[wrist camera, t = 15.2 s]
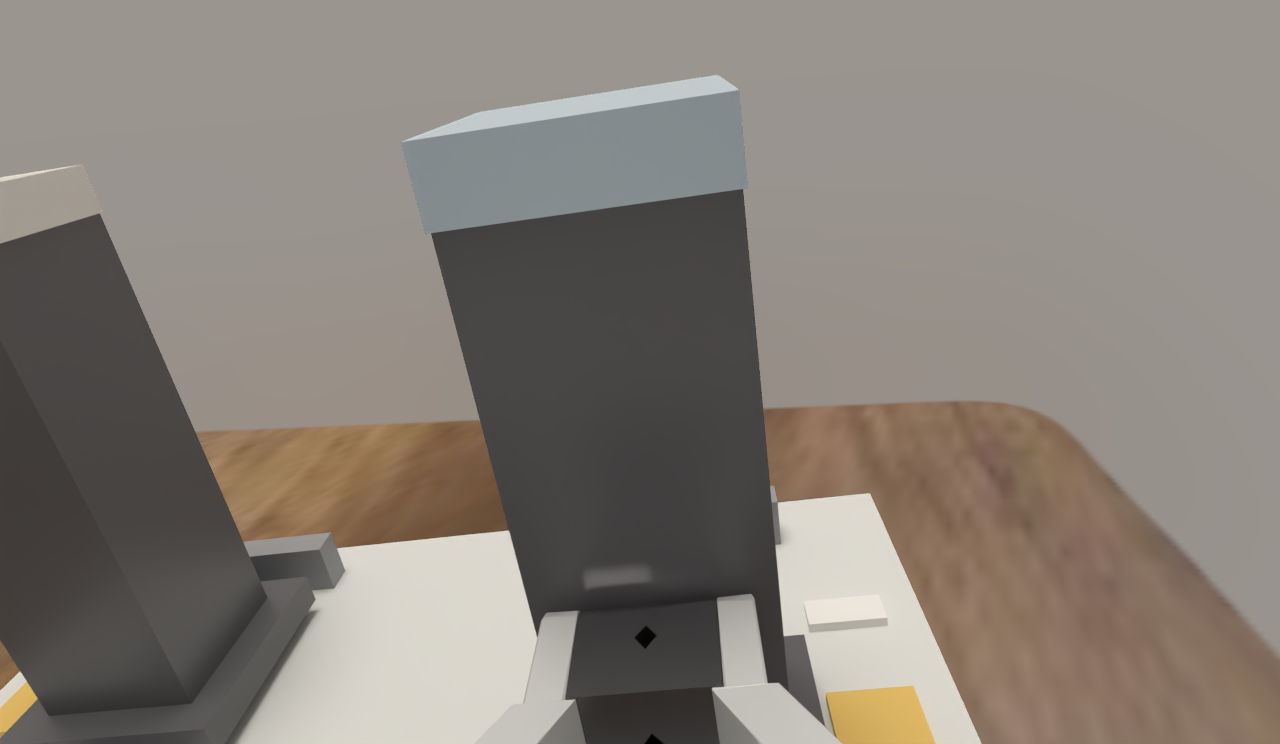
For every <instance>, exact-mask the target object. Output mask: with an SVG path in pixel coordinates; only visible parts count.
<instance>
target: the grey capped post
mask: <svg viewBox="0 0 1280 744" xmlns="http://www.w3.org/2000/svg"><path fill="white" fill-rule="evenodd" d="M401 144H402V148H403V151H404V155H405V159H406V163H407V167H408V171H409V174H410V178H411V182H412V186H413V190H414V193H415V197H416V201H417V205H418V208H419V212H420V216H421V220H422V223H423V227H424V231H425V234H428V233H431V234H432V238H433V242H434V246H435V250H436V254H437V258H438V261H439V265H440V269H441V272H442V276H443V280H444V284H445V288H446V292H447V296H448V299H449V303H450V307H451V311H452V315H453V318H454V322H455V326H456V330H457V334H458V337H459V341H460V345H461V349H462V352H463V357H464V360H465V364H466V368H467V372H468V376H469V380H470V383H471V387H472V391H473V395H474V399H475V402H476V406H477V410H478V414H479V418H480V422H481V425H482V429H483V433H484V437H485V441H486V444H487V448H488V452H489V456H490V460H491V464H492V467H493V471H494V475H495V479H496V483H497V486H498V490H499V494H500V498H501V502H502V506H503V509H504V513H505V517H506V521H507V525H508V528H509V532H510V536H511V540H512V544H513V547H514V551H515V555H516V559H517V563H518V567H519V570H520V574H521V578H522V582H523V586H524V589H525V593H526V597H527V601H528V605H529V609H530V612H531V616H532V620H533V624H534V628H535V631H536V635H537V637H538V633H539V628H540V624H541V620H542V619H543V617H544V616H545V614H546V613H550V612H565V611H581V610H584V609H599V608H614V607H628V606H643V605H655V604H665V603H675V602H685V601H696V600H706V599H716V601H717V598H718V597H727V596H735V595H744V594H752V596H753V597H754V599H755V606H756V612H757V618H758V625H759V631H760V637H761V644H762V650H763V656H764V663H765V669H766V675H767V682H768V683H780V684H781V685H782V686H783V687H784V688H785V689H786V690H787V691H788V692H789V693H790V694H791V695H792V696H793V697H794V698H795V699H796V700H797V701H798V702H799V703H801V704H802V705H803V706H804V707H805V708H806V709H807V710H808V711H809V712H810V713H811V714H812V715H813V716H814V717H815V718H816V719H817V720H818V721H819V722H821V723H822V724H823V725H824V726H825V723H824V719H823V715H822V710H821V706H820V702H819V697H818V693H817V688H816V684H815V680H814V675H813V671H812V667H811V662H810V658H809V654H808V649H807V645H806V640H805V636H804V634H803V635H792V636H784V634H783V623H782V612H781V601H780V590H779V579H778V568H777V557H776V546H775V535H774V524H773V513H772V502H771V491H770V480H769V469H768V458H767V447H766V436H765V425H764V414H763V404H762V392H761V382H760V370H759V360H758V348H757V339H756V327H755V316H754V305H753V294H752V283H751V272H750V261H749V250H748V240H747V228H746V217H745V206H744V195H743V189H745V188H748V183H747V172H746V160H745V150H744V138H743V126H742V116H741V104H740V92H739V89H737V88H736V87H734V86H733V85H731V84H730V83H728V82H727V81H726V80H724V79H723V78H721V77H720V76H718V75H714V76H708V77H701V78H695V79H688V80H682V81H676V82H670V83H663V84H656V85H650V86H644V87H637V88H631V89H624V90H618V91H611V92H605V93H599V94H592V95H586V96H579V97H573V98H567V99H560V100H554V101H548V102H541V103H535V104H529V105H522V106H515V107H509V108H502V109H497V110H490V111H484V112H478V113H476V114H473V115H470V116H468V117H465V118H462V119H460V120H457V121H454V122H452V123H449V124H447V125H444V126H441V127H439V128H436V129H434V130H431V131H429V132H426V133H423V134H420V135H418V136H415V137H413V138H410V139H407V140H405V141H402V142H401ZM717 608H718V607H717Z"/></svg>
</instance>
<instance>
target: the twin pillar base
mask: <svg viewBox="0 0 1280 744" xmlns="http://www.w3.org/2000/svg"><path fill="white" fill-rule="evenodd" d="M770 491H771V502H772V513H773V524H774V535H775V546H776V557H777V568H778V579H779V590H780V601H781V612H782V623H783V634H784V636H792V635H803V634H804V636H805V640H806V645H807V649H808V654H809V658H810V662H811V667H812V671H813V675H814V680H815V684H816V688H817V693H818V697H819V702H820V706H821V710H822V715H823V719H824V723H825V727H826V728H827V729H828V730H829V731H830V732H831V733H832V734H833V735H834V736H835V737H836V738H837V739H838V740H839V741H841V742H842V743H843V744H981V742H980V739H979V737H978V735H977V733H976V730H975V728H974V726H973V724H972V721H971V719H970V717H969V715H968V712H967V710H966V708H965V706H964V704H963V701H962V699H961V697H960V695H959V692H958V690H957V688H956V686H955V683H954V681H953V679H952V677H951V674H950V672H949V670H948V668H947V665H946V663H945V661H944V659H943V656H942V654H941V652H940V650H939V647H938V645H937V643H936V641H935V638H934V636H933V634H932V632H931V629H930V627H929V625H928V623H927V621H926V618H925V616H924V614H923V612H922V609H921V607H920V605H919V603H918V600H917V598H916V596H915V594H914V591H913V589H912V587H911V585H910V582H909V580H908V578H907V576H906V573H905V571H904V569H903V567H902V564H901V562H900V560H899V558H898V555H897V553H896V551H895V549H894V546H893V544H892V542H891V540H890V537H889V535H888V533H887V531H886V529H885V526H884V524H883V522H882V520H881V517H880V515H879V513H878V511H877V508H876V506H875V504H874V502H873V499H872V497H871V495H870V493H867V494H858V495H848V496H839V497H829V498H819V499H810V500H800V501H790V502H781V503H778V502H777V498H776V493H775V489H774V486H770ZM243 543H244V545H245V547H246V550H247V552H248V554H249V556H250V559H251V561H252V563H253V566H254V568H255V570H256V572H257V575H258V577H259V579H260V581H269V580H279V579H289V578H299V577H307V579H308V582H309V584H310V587H311V589H312V592H313V594H314V597H315V599H316V600H315V601H314V603H313V605H312V606H311V608H310V609H309V611H308V613H307V614H306V616H305V617H304V619H303V621H302V622H301V624H300V625H299V627H298V628H297V630H296V632H295V633H294V635H293V636H292V638H291V640H290V641H289V643H288V644H287V646H286V648H285V649H284V651H283V652H282V654H281V656H280V657H279V659H278V660H277V662H276V663H275V665H274V667H273V668H272V670H271V671H270V673H269V675H268V676H267V678H266V679H265V681H264V683H263V684H262V686H261V687H260V689H259V690H258V692H257V694H256V695H255V697H254V698H253V700H252V702H251V703H250V705H249V706H248V708H247V710H246V711H245V713H244V714H243V716H242V717H241V719H240V721H239V722H238V724H237V725H236V727H235V729H234V730H233V732H232V733H231V735H230V737H229V738H228V740H227V741H226V743H225V744H475V743H476V741H477V740H478V739H479V738H480V737H481V736H482V735H483V734H484V733H485V732H486V731H487V730H488V729H489V728H490V727H491V726H492V725H493V724H494V723H495V722H496V721H497V720H498V719H499V718H500V717H501V716H502V715H503V714H504V713H505V712H506V711H507V710H508V709H509V708H510V707H511V706H512V705H513V704H523V701H524V696H525V692H526V687H527V683H528V678H529V673H530V669H531V664H532V660H533V655H534V651H535V646H536V642H537V635H536V631H535V628H534V624H533V620H532V616H531V612H530V609H529V605H528V601H527V597H526V593H525V589H524V586H523V582H522V578H521V574H520V570H519V567H518V563H517V559H516V555H515V551H514V547H513V544H512V540H511V536H510V532H509V531H501V532H491V533H482V534H472V535H462V536H453V537H443V538H433V539H424V540H414V541H404V542H395V543H385V544H375V545H366V546H356V547H347V548H337V547H336V545H335V542H334V539H333V537H332V534H331V533H322V534H313V535H304V536H294V537H285V538H275V539H266V540H256V541H247V542H243ZM37 699H38V698H37V697H36V695H35V694H34V692H33V690H32V689H31V687H30V686H29V684H28V683H27V681H26V679H25V678H24V676H23V675H22V673H21V671H20V672H19V673H18V674H17V675H16V676H15V677H14V678H13V679H12V680H11V681H10V682H9V683H8V684H7V685H6V686H5V687H4V688H3V689H2V690H1V691H0V738H1V737H2V736H3V735H4V734H5V733H6V731H7V730H8V729H9V728H10V727H11V726H12V725H13V724H14V723H15V722H16V721H17V720H18V719H19V718H20V717H21V716H22V715H23V714H24V713H25V712H26V711H27V710H28V708H29V707H30V706H31V705H32V704H33V703H34V702H35V701H36V700H37Z"/></svg>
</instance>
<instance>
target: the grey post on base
mask: <svg viewBox="0 0 1280 744" xmlns="http://www.w3.org/2000/svg"><path fill="white" fill-rule="evenodd" d="M102 212H103V211H102V208H101V206H100V204H99V201H98V199H97V197H96V194H95V192H94V190H93V188H92V185H91V183H90V181H89V179H88V176H87V174H86V171H85V169H84V167H83V165H76V166H70V167H64V168H58V169H51V170H44V171H38V172H32V173H25V174H20V175H13V176H7V177H0V640H1V642H2V643H3V645H4V646H5V648H6V649H7V651H8V653H9V654H10V656H11V657H12V659H13V660H14V662H15V664H16V665H17V667H18V668H19V670H20V671H21V673H22V675H23V676H24V678H25V679H26V681H27V683H28V684H29V686H30V687H31V689H32V690H33V692H34V694H35V695H36V697H37V698H38V699H37V700H36V701H35V702H34V703H33V704H32V705H31V706H30V707H29V708H28V710H27V711H26V712H25V713H24V714H23V715H22V716H21V717H20V718H19V719H18V720H17V721H16V722H15V723H14V724H13V725H12V726H11V727H10V728H9V729H8V730H7V731H6V733H5V734H4V735H3V736H2V737H1V738H0V744H225V743H226V741H227V740H228V738H229V737H230V735H231V733H232V732H233V730H234V729H235V727H236V725H237V724H238V722H239V721H240V719H241V717H242V716H243V714H244V713H245V711H246V710H247V708H248V706H249V705H250V703H251V702H252V700H253V698H254V697H255V695H256V694H257V692H258V690H259V689H260V687H261V686H262V684H263V683H264V681H265V679H266V678H267V676H268V675H269V673H270V671H271V670H272V668H273V667H274V665H275V663H276V662H277V660H278V659H279V657H280V656H281V654H282V652H283V651H284V649H285V648H286V646H287V644H288V643H289V641H290V640H291V638H292V636H293V635H294V633H295V632H296V630H297V628H298V627H299V625H300V624H301V622H302V621H303V619H304V617H305V616H306V614H307V613H308V611H309V609H310V608H311V606H312V605H313V603H314V601H315V600H316V599H315V597H314V594H313V592H312V589H311V587H310V584H309V582H308V579H307V577H299V578H289V579H279V580H269V581H260V579H259V577H258V575H257V572H256V570H255V568H254V566H253V563H252V561H251V559H250V556H249V554H248V552H247V550H246V547H245V545H244V543H243V540H242V538H241V536H240V534H239V531H238V529H237V527H236V524H235V522H234V520H233V518H232V515H231V513H230V511H229V508H228V506H227V504H226V502H225V499H224V497H223V495H222V492H221V490H220V488H219V486H218V483H217V481H216V479H215V476H214V474H213V472H212V469H211V467H210V465H209V463H208V460H207V458H206V456H205V453H204V451H203V449H202V447H201V444H200V442H199V440H198V437H197V435H196V433H195V431H194V428H193V426H192V424H191V421H190V419H189V417H188V415H187V412H186V410H185V408H184V405H183V403H182V401H181V399H180V396H179V394H178V392H177V389H176V387H175V385H174V383H173V380H172V378H171V376H170V373H169V371H168V369H167V367H166V364H165V362H164V360H163V358H162V355H161V353H160V351H159V348H158V346H157V344H156V341H155V339H154V337H153V334H152V332H151V330H150V328H149V325H148V323H147V321H146V319H145V316H144V314H143V312H142V309H141V307H140V305H139V303H138V300H137V298H136V296H135V293H134V291H133V289H132V286H131V284H130V282H129V280H128V277H127V275H126V273H125V270H124V268H123V266H122V263H121V261H120V259H119V257H118V254H117V252H116V250H115V248H114V245H113V243H112V241H111V238H110V236H109V234H108V231H107V229H106V227H105V225H104V222H103V220H102V218H101V215H100V213H102Z"/></svg>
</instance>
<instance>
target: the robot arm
mask: <svg viewBox="0 0 1280 744" xmlns="http://www.w3.org/2000/svg"><path fill="white" fill-rule="evenodd" d="M717 607H718V608H717ZM475 744H843V743H842V742H841V741H839V740H838V739H837V738H836V737H835V736H834V735H833V734H832V733H831V732H830V731H829V730H828V729H827V728H826V727H825V726H824V725H823V724H822V723H821V722H819V721H818V720H817V719H816V718H815V717H814V716H813V715H812V714H811V713H810V712H809V711H808V710H807V709H806V708H805V707H804V706H803V705H802V704H801V703H799V702H798V701H797V700H796V699H795V698H794V697H793V696H792V695H791V694H790V693H789V692H788V691H787V690H786V689H785V688H784V687H783V686H782V685H781V684H780V683H768V682H767V675H766V669H765V663H764V656H763V650H762V644H761V637H760V631H759V625H758V618H757V612H756V606H755V599H754V597H753V596H752V594H744V595H735V596H727V597H718V598H717V601H716V599H706V600H696V601H685V602H675V603H665V604H655V605H643V606H628V607H614V608H599V609H584V610H581V611H565V612H550V613H546V614H545V616H544V617H543V619H542V620H541V624H540V628H539V633H538V637H537V642H536V646H535V651H534V655H533V660H532V664H531V669H530V673H529V678H528V683H527V687H526V692H525V696H524V701H523V704H513V705H512V706H511V707H510V708H509V709H508V710H507V711H506V712H505V713H504V714H503V715H502V716H501V717H500V718H499V719H498V720H497V721H496V722H495V723H494V724H493V725H492V726H491V727H490V728H489V729H488V730H487V731H486V732H485V733H484V734H483V735H482V736H481V737H480V738H479V739H478V740H477V741H476V743H475Z"/></svg>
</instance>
